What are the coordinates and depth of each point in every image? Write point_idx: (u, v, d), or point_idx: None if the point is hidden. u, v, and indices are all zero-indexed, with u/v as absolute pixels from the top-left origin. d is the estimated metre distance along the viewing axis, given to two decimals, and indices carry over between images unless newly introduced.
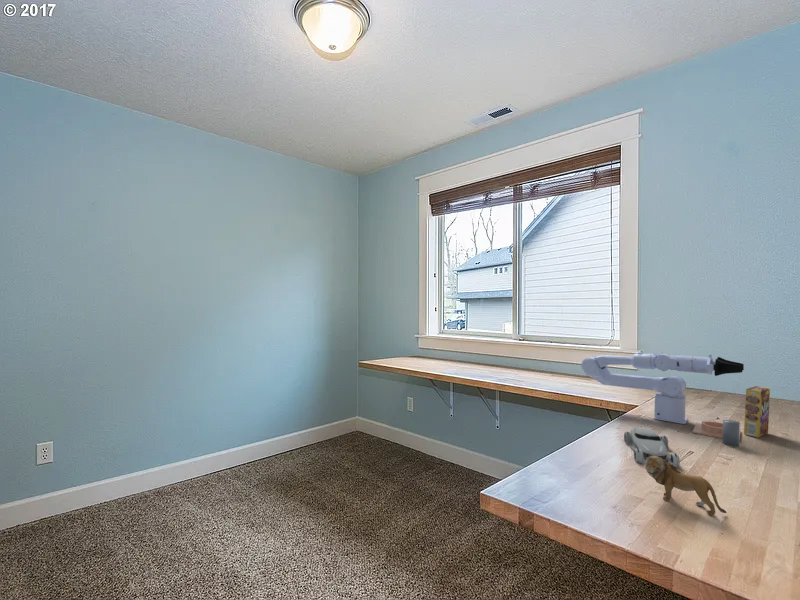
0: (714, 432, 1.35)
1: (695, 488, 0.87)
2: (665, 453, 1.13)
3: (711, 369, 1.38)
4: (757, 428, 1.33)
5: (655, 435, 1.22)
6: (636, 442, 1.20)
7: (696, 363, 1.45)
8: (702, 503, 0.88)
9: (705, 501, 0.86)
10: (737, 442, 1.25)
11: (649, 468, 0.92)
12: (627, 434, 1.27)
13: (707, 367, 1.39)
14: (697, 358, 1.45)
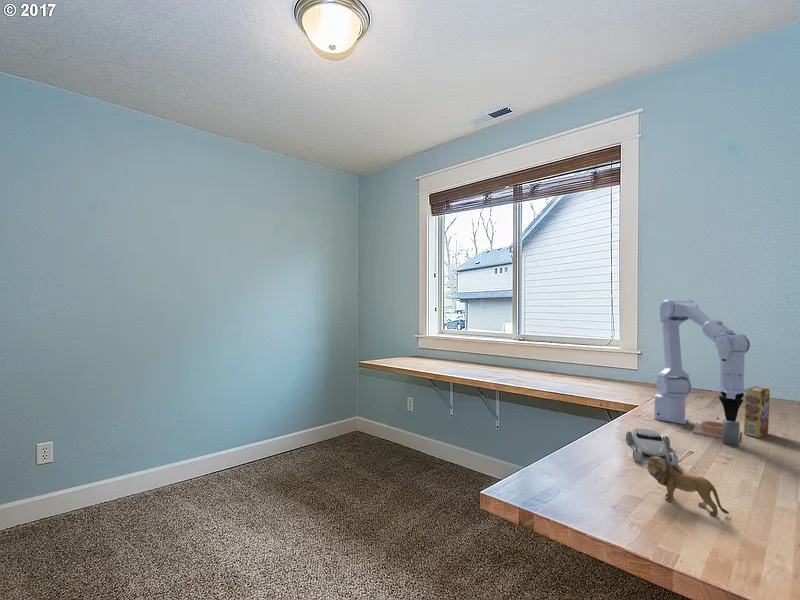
0: (714, 432, 1.35)
1: (697, 489, 0.87)
2: (664, 453, 1.13)
3: (728, 396, 1.22)
4: (757, 428, 1.33)
5: (656, 435, 1.21)
6: (636, 442, 1.20)
7: (734, 378, 1.24)
8: (704, 504, 0.88)
9: (707, 502, 0.86)
10: (737, 442, 1.25)
11: (651, 469, 0.92)
12: (629, 434, 1.27)
13: (730, 393, 1.21)
14: (741, 380, 1.24)
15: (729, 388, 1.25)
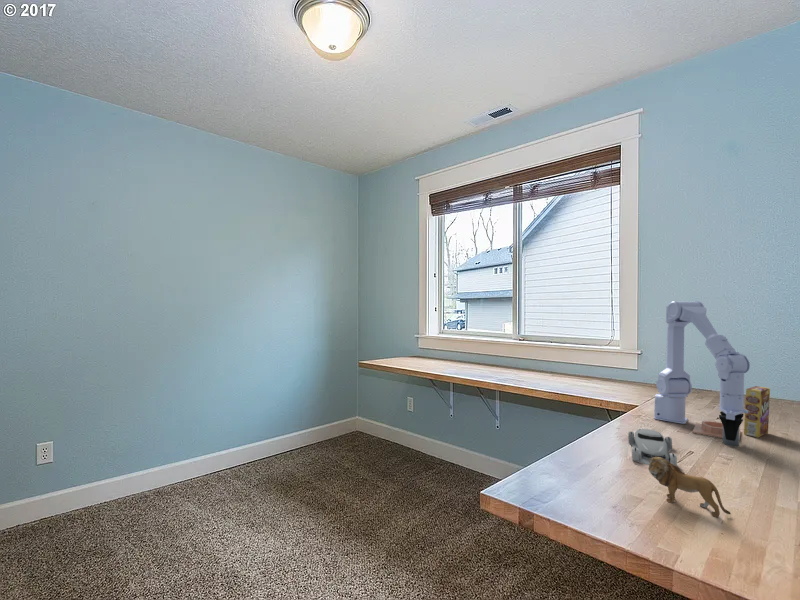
0: (714, 432, 1.35)
1: (699, 489, 0.87)
2: (664, 453, 1.13)
3: (727, 417, 1.22)
4: (757, 428, 1.33)
5: (658, 436, 1.21)
6: (637, 442, 1.20)
7: (733, 399, 1.24)
8: (706, 504, 0.88)
9: (709, 502, 0.85)
10: (737, 442, 1.25)
11: (653, 469, 0.91)
12: (630, 434, 1.27)
13: (730, 414, 1.21)
14: (741, 400, 1.24)
15: (729, 408, 1.25)
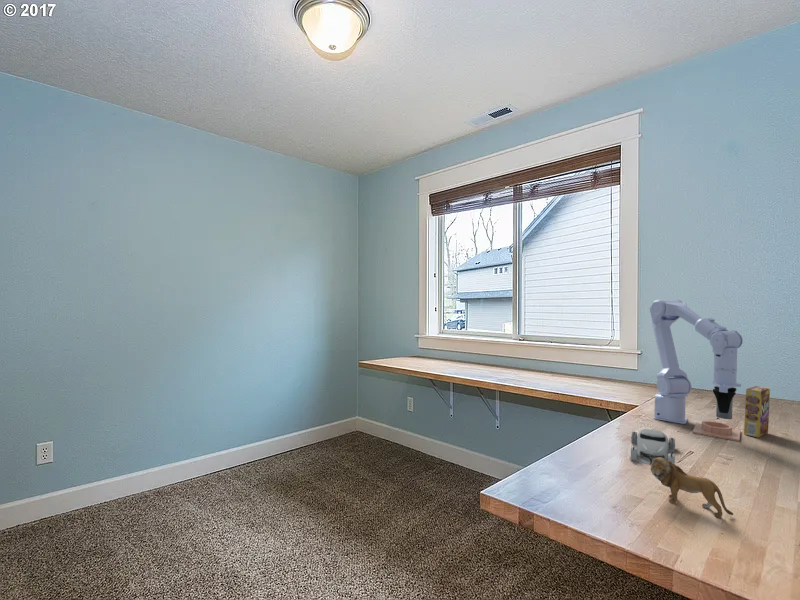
0: (714, 432, 1.35)
1: (702, 490, 0.87)
2: (663, 453, 1.13)
3: (720, 390, 1.27)
4: (757, 428, 1.33)
5: (660, 436, 1.21)
6: (638, 441, 1.21)
7: (726, 373, 1.29)
8: (708, 505, 0.88)
9: (712, 503, 0.85)
10: (730, 415, 1.30)
11: (655, 470, 0.91)
12: (633, 434, 1.27)
13: (723, 387, 1.26)
14: (734, 374, 1.29)
15: (722, 382, 1.30)
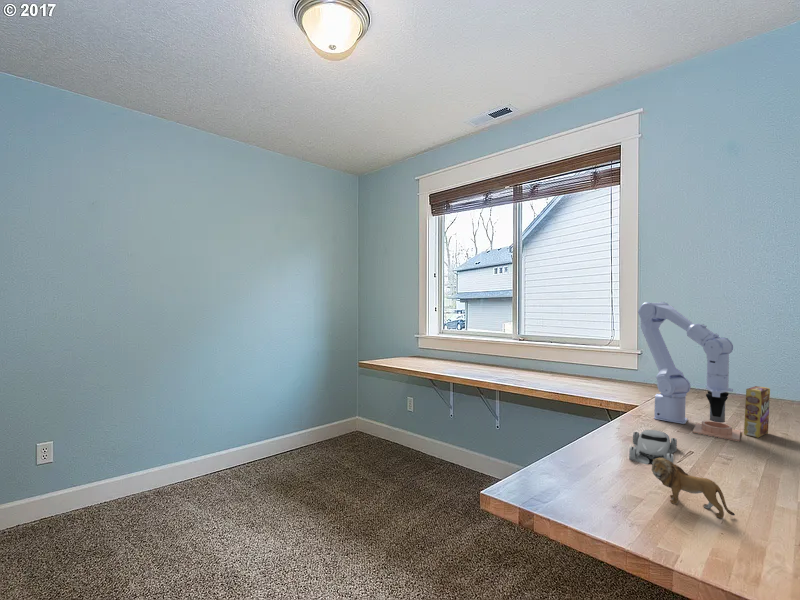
0: (714, 432, 1.35)
1: (703, 490, 0.86)
2: (662, 453, 1.13)
3: (713, 395, 1.33)
4: (757, 428, 1.33)
5: (661, 436, 1.21)
6: (638, 441, 1.21)
7: (719, 378, 1.35)
8: (710, 505, 0.87)
9: (713, 503, 0.85)
10: (723, 418, 1.36)
11: (656, 470, 0.91)
12: (635, 434, 1.27)
13: (715, 392, 1.32)
14: (726, 379, 1.35)
15: (715, 387, 1.36)
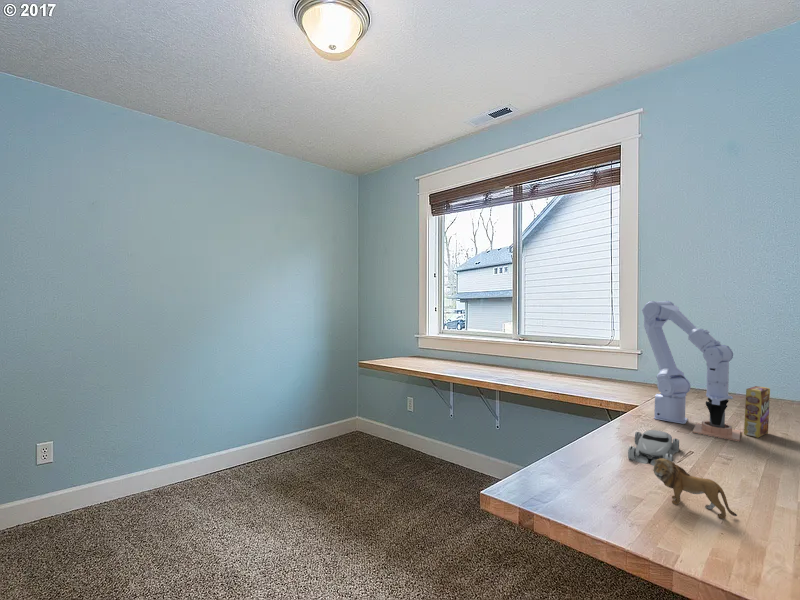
0: (714, 432, 1.35)
1: (705, 491, 0.86)
2: (662, 453, 1.13)
3: (713, 402, 1.33)
4: (757, 428, 1.33)
5: (662, 437, 1.20)
6: (639, 441, 1.21)
7: (719, 386, 1.35)
8: (712, 506, 0.87)
9: (716, 504, 0.85)
10: None
11: (658, 471, 0.91)
12: (636, 434, 1.27)
13: (715, 399, 1.32)
14: (726, 387, 1.35)
15: (715, 395, 1.36)
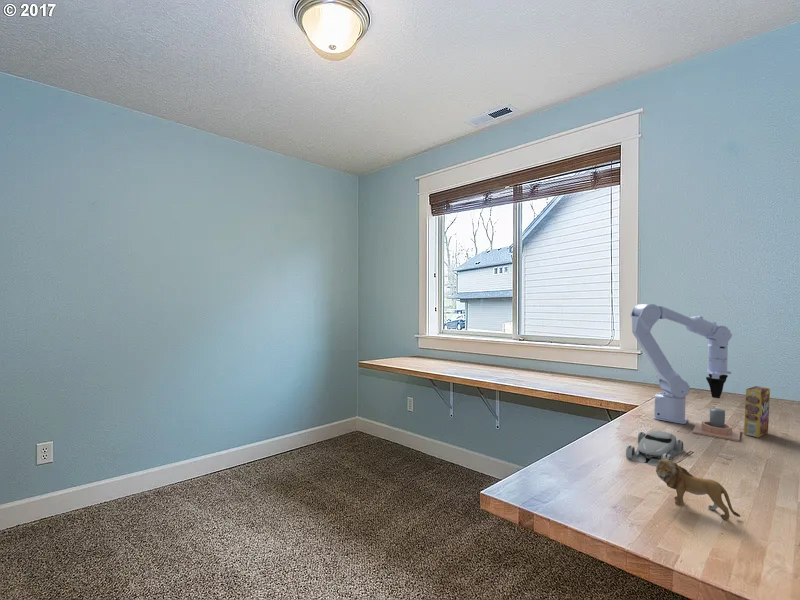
0: (714, 432, 1.35)
1: (708, 492, 0.86)
2: (661, 453, 1.13)
3: (713, 377, 1.44)
4: (757, 428, 1.33)
5: (664, 437, 1.20)
6: (640, 441, 1.21)
7: (718, 362, 1.47)
8: (715, 507, 0.87)
9: (719, 505, 0.84)
10: None
11: (661, 472, 0.90)
12: (640, 434, 1.26)
13: (715, 374, 1.44)
14: (725, 363, 1.47)
15: (714, 370, 1.48)
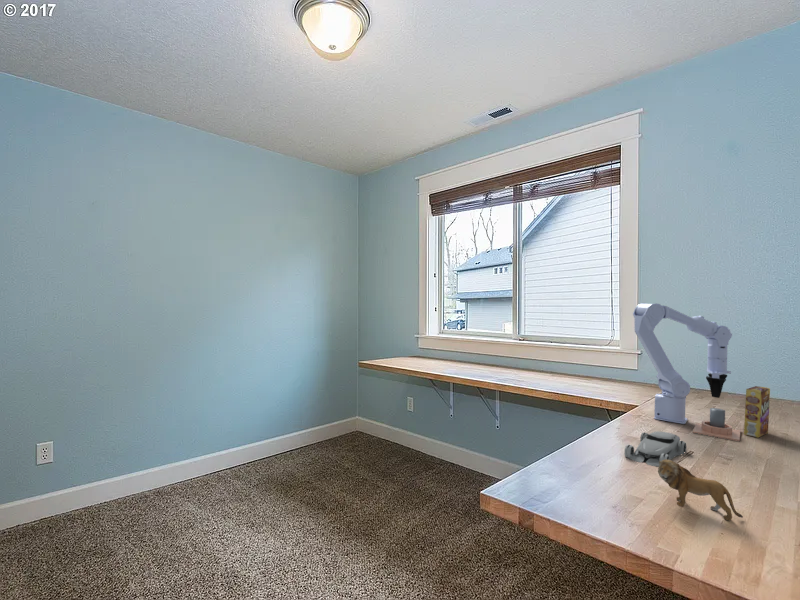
0: (714, 432, 1.35)
1: (711, 492, 0.85)
2: (660, 453, 1.13)
3: (713, 376, 1.45)
4: (757, 428, 1.33)
5: (666, 438, 1.19)
6: (641, 441, 1.21)
7: (718, 361, 1.48)
8: (717, 507, 0.87)
9: (721, 506, 0.84)
10: None
11: (663, 473, 0.90)
12: (642, 434, 1.26)
13: (715, 373, 1.45)
14: (724, 363, 1.48)
15: (714, 370, 1.49)
